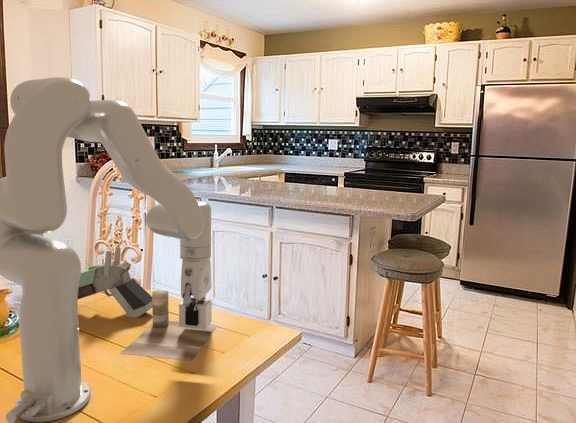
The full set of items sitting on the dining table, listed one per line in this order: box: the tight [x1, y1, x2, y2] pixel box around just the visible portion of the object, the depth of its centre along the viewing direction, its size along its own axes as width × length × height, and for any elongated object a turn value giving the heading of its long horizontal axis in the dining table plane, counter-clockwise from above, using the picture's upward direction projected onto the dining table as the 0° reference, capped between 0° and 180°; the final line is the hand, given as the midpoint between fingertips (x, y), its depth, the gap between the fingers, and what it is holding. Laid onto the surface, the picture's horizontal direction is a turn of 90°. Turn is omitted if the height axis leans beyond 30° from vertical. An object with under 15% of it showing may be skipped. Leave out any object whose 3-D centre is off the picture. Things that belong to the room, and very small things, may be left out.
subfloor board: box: [120, 320, 218, 362], centre depth 109 cm, size 19×17×1 cm
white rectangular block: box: [178, 298, 213, 329], centre depth 113 cm, size 4×7×6 cm, turn 82°
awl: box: [151, 289, 170, 328], centre depth 115 cm, size 4×4×9 cm
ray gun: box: [78, 246, 153, 318], centre depth 124 cm, size 7×32×20 cm, turn 79°
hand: (195, 319), depth 113 cm, fingers closed on white rectangular block, 4 cm apart
